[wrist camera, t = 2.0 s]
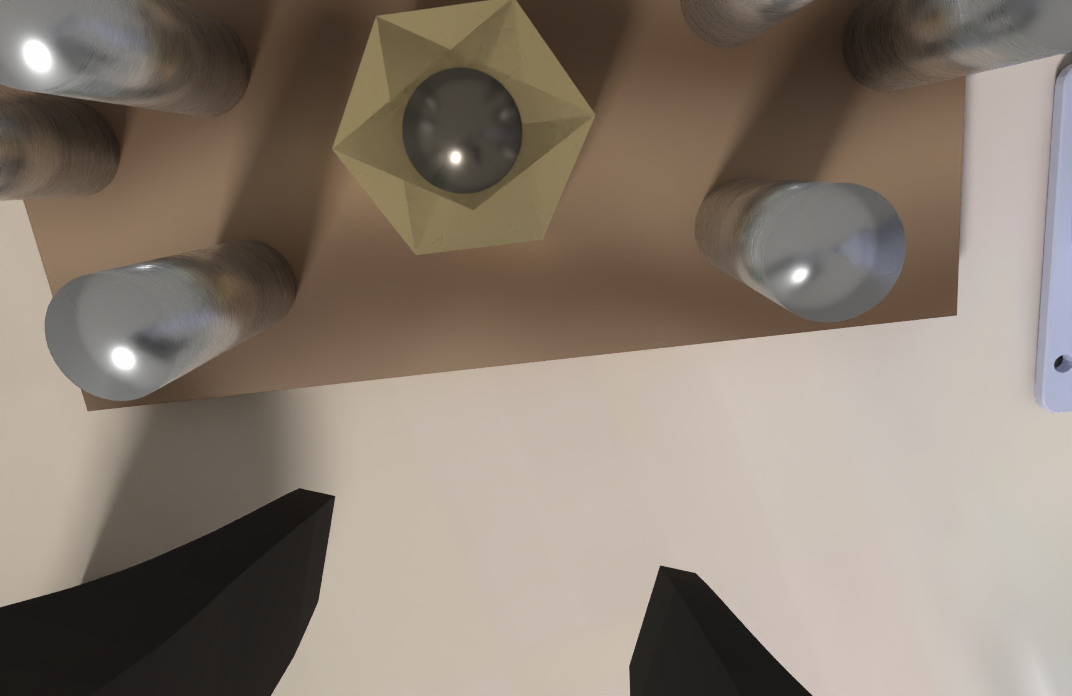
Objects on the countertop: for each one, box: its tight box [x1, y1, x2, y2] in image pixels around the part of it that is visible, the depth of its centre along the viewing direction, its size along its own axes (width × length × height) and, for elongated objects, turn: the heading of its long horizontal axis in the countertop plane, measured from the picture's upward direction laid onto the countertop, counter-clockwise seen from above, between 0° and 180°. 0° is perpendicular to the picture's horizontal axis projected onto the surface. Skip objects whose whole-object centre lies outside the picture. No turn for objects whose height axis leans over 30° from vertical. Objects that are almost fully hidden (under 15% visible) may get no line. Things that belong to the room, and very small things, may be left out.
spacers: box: [0, 0, 1072, 401], centre depth 14 cm, size 13×23×6 cm, turn 97°
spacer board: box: [0, 0, 965, 411], centre depth 17 cm, size 16×24×2 cm, turn 97°
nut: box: [332, 0, 595, 255], centre depth 16 cm, size 6×5×2 cm
